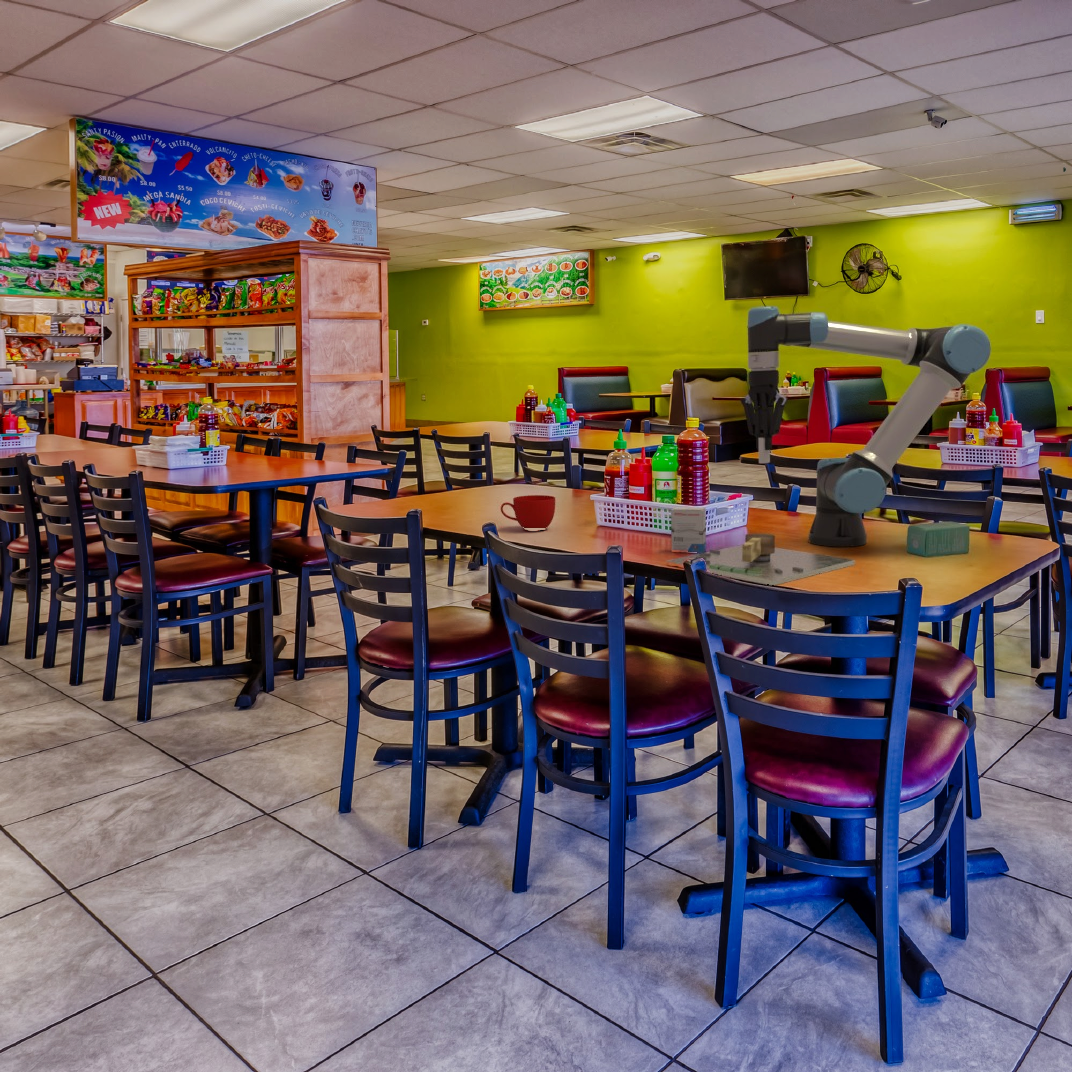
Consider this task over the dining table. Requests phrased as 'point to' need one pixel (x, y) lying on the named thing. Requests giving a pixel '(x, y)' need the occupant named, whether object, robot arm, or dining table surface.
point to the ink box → (688, 529)
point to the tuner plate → (768, 564)
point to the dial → (757, 546)
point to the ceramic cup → (532, 510)
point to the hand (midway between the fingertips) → (764, 462)
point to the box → (938, 539)
